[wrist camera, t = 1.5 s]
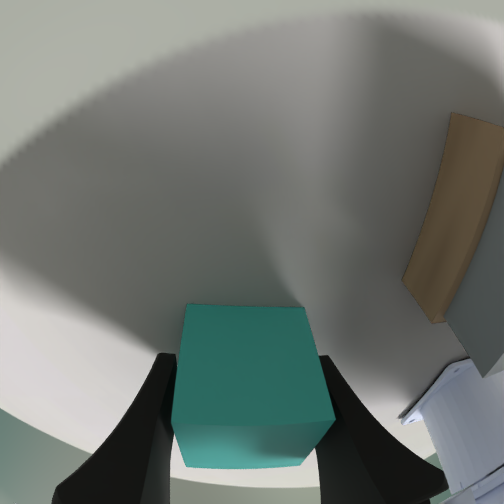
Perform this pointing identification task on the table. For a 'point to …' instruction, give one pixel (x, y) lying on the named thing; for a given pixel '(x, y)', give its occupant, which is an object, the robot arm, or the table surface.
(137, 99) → the table surface
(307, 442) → the teal block
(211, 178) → the table surface
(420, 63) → the table surface
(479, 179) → the walnut slab
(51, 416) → the table surface
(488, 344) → the slate slab
